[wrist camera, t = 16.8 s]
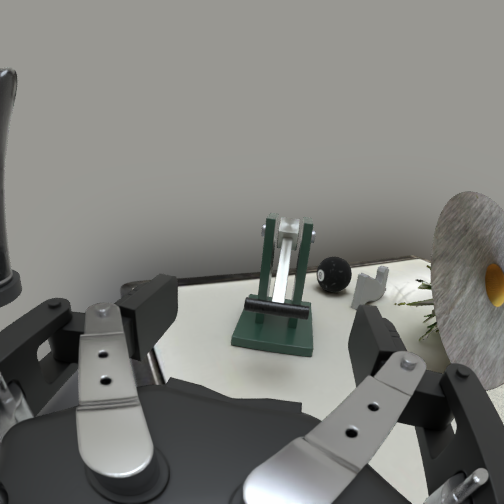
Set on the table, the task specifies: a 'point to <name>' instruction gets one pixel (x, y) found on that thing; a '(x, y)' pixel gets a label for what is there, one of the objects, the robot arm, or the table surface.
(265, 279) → the switch bracket
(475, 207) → the upside-down potted plant
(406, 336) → the table surface
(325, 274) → the billiard ball
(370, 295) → the grey tape dispenser
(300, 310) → the switch lever
